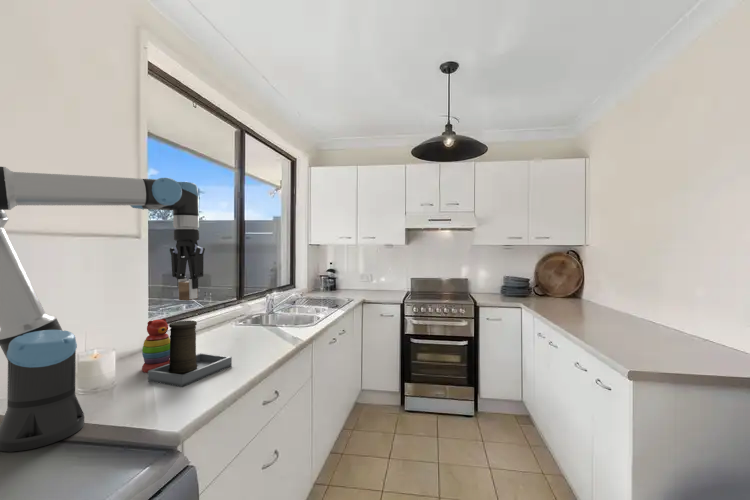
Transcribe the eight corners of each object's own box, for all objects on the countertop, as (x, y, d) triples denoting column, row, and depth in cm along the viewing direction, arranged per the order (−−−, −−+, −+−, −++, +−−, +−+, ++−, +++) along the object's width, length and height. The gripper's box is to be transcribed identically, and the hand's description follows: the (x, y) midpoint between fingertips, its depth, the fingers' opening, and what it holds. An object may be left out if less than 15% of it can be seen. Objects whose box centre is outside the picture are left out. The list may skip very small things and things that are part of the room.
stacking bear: (146, 373, 124) (147, 323, 124) (135, 368, 130) (136, 320, 130) (178, 366, 132) (179, 319, 133) (167, 361, 138) (167, 316, 139)
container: (202, 370, 125) (203, 320, 125) (186, 379, 116) (187, 325, 116) (179, 369, 125) (179, 319, 126) (161, 378, 117) (161, 324, 117)
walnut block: (188, 300, 115) (187, 282, 115) (179, 300, 117) (178, 282, 117) (198, 298, 119) (197, 281, 119) (189, 298, 121) (188, 280, 120)
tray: (182, 387, 111) (182, 376, 112) (147, 381, 116) (147, 370, 116) (231, 366, 132) (231, 356, 132) (200, 362, 137) (200, 353, 137)
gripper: (214, 228, 118) (216, 297, 118) (177, 230, 124) (179, 295, 124) (196, 227, 111) (197, 301, 111) (158, 229, 117) (159, 299, 117)
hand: (188, 298), depth 118 cm, fingers closed on walnut block, 4 cm apart
